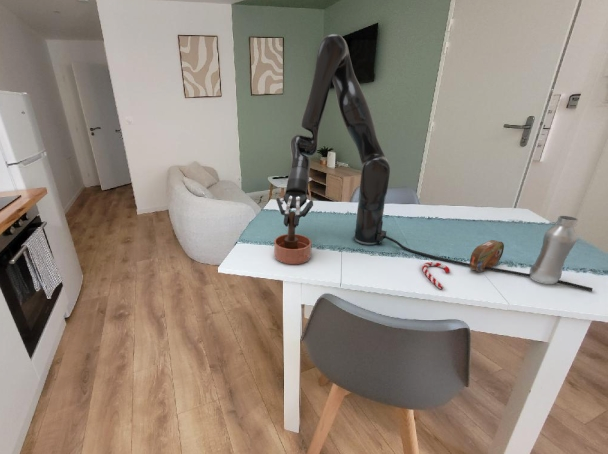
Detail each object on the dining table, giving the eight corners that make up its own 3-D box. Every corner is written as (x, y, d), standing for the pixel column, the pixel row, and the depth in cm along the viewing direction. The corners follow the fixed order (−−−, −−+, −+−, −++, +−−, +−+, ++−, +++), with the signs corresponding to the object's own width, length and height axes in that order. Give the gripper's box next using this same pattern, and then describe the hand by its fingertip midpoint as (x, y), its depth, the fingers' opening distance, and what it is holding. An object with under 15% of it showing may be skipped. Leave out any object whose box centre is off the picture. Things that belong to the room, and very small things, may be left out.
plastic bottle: (520, 276, 89) (544, 214, 81) (541, 274, 89) (566, 213, 81) (542, 288, 83) (569, 223, 75) (564, 286, 83) (593, 221, 75)
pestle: (298, 246, 107) (300, 211, 101) (296, 252, 103) (297, 215, 97) (285, 245, 108) (286, 210, 103) (283, 251, 104) (283, 214, 99)
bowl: (312, 250, 110) (313, 235, 108) (307, 267, 99) (308, 251, 96) (278, 246, 114) (278, 232, 112) (270, 262, 103) (270, 247, 101)
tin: (475, 275, 90) (482, 251, 87) (464, 271, 92) (471, 247, 89) (500, 262, 96) (508, 239, 93) (489, 258, 99) (497, 236, 95)
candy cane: (428, 284, 85) (420, 259, 98) (427, 287, 85) (419, 263, 98) (459, 288, 82) (447, 263, 95) (458, 292, 83) (446, 266, 95)
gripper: (277, 176, 104) (269, 220, 99) (316, 178, 100) (310, 223, 94) (280, 186, 111) (272, 228, 105) (317, 188, 107) (311, 232, 101)
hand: (290, 225), depth 100 cm, fingers closed on pestle, 2 cm apart
